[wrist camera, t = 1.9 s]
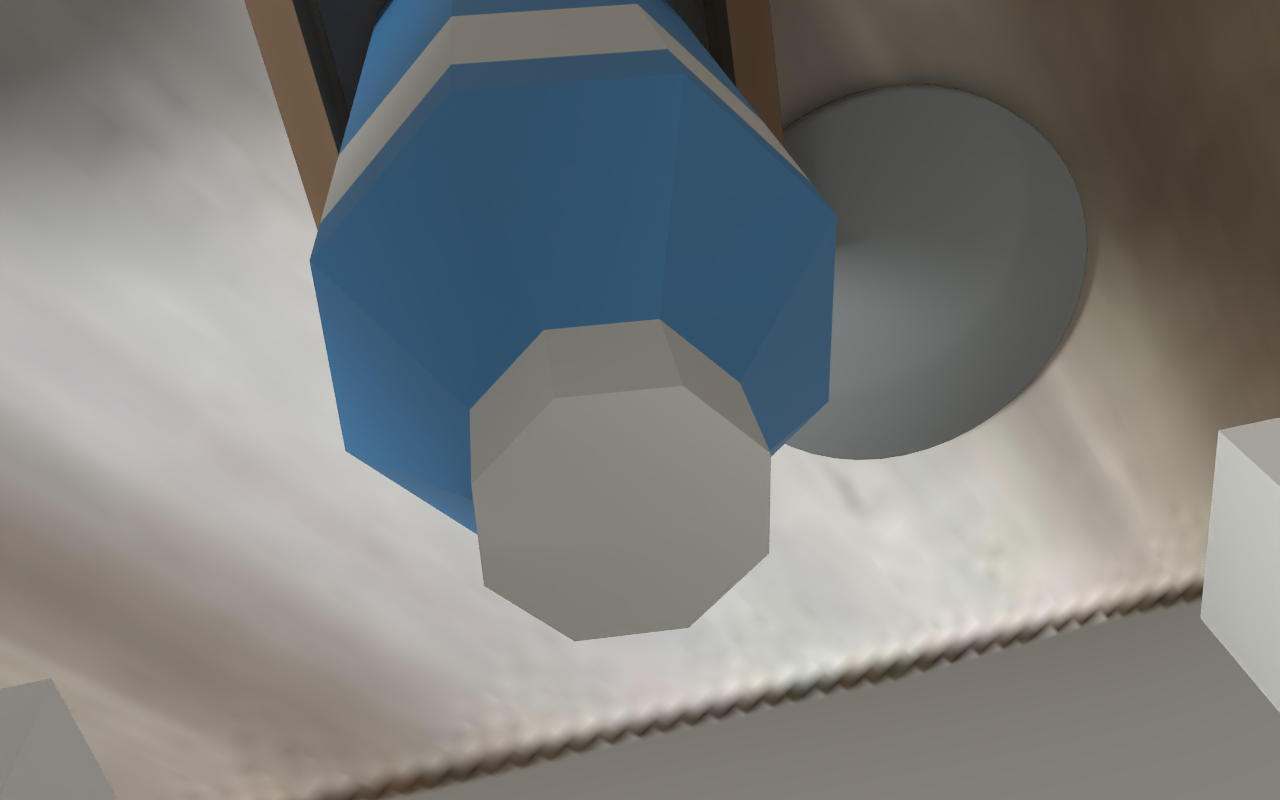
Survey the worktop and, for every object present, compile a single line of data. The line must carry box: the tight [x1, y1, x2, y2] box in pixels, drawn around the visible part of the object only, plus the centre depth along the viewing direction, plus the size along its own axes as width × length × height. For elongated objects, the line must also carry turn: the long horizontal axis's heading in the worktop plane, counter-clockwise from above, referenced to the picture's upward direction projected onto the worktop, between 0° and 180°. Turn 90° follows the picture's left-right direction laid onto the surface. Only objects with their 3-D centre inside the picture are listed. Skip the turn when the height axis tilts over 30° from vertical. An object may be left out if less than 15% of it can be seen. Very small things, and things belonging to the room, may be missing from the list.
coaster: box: [782, 85, 1087, 460], centre depth 42 cm, size 14×14×1 cm
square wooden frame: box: [245, 0, 784, 229], centre depth 35 cm, size 14×14×4 cm
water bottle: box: [310, 0, 837, 641], centre depth 26 cm, size 9×9×25 cm
